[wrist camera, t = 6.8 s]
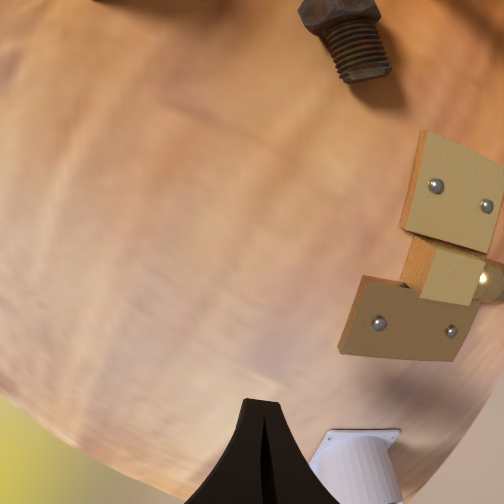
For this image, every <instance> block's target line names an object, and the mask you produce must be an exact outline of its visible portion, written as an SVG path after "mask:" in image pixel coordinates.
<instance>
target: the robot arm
mask: <svg viewBox="0 0 504 504" xmlns="http://www.w3.org/2000/svg"><path fill="white" fill-rule="evenodd" d="M399 434H400V431H399V430H397V429H395V430H330V431H328V432H327V434H326V436H325V437H324V439H323V441H322V443H321V444H320V446H319V448H318V449H317V451H316V453H315V454H314V456H313V458H312V459H311V461H310V462H309V464H308V463H307V461H306V460H305V458H304V456H303V455H302V453H301V451H300V449H299V447H298V445H297V443H296V442H295V440H294V438H293V436H292V433H291V431H290V429H289V427H288V425H287V422H286V420H285V417H284V415H283V412H282V409H281V406H280V404H279V403H278V402H271V401H263V400H256V399H249V398H246V399H244V400H243V403H242V406H241V410H240V414H239V418H238V421H237V425H236V429H235V431H234V434H233V436H232V438H231V440H230V442H229V444H228V446H227V447H226V449H225V451H224V453H223V455H222V456H221V458H220V459H219V461H218V463H217V464H216V466H215V467H214V468H213V470H212V471H211V473H210V474H209V475H208V477H207V478H206V479H205V481H204V482H203V483H202V484H201V486H200V487H199V488H198V489H197V490H196V492H195V493H194V494H193V495H192V496H191V497H190V498H189V499H188V500H187V501H186V502H185V503H184V504H405V502H404V500H403V497H402V494H401V490H400V487H399V484H398V481H397V478H396V475H395V472H394V469H393V466H392V463H391V460H390V457H389V454H388V451H387V450H388V449H389V448H390V446H391V445H392V444H393V442H394V441H395V440H396V438H397V437H398V436H399Z"/></svg>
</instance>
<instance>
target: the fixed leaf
mask: <svg viewBox="0 0 504 504" xmlns="http://www.w3.org/2000/svg"><path fill="white" fill-rule="evenodd" d="M474 256H476V255H474ZM476 257H478V258H479V259H481V260H482V261H484V262H486V263H485V266H484V269H483V272H482V275H481V277H480V280H479V283H478V285H477V288H476V290H475V293H474V295H473V298H472V300H471V303H470V305H469V306H466V305H460V304H454V303H448V302H442V301H436V300H430V299H424V298H419V297H418V296H417V295H416V294H415V293H414V292H413V291H412V289H411V288H410V287H409V286H408V285H407V284H406V283H401V282H396V281H391V280H386V279H380V278H375V277H370V276H365V275H363V276H362V279H361V282H360V286H359V289H358V291H357V294H356V297H355V300H354V303H353V306H352V309H351V312H350V314H349V317H348V320H347V323H346V325H345V328H344V331H343V333H342V336H341V339H340V341H339V344H338V349H339V352H340V354H345V355H355V356H365V357H376V358H389V359H403V360H420V361H443V362H453V360H454V359H455V357H456V355H457V353H458V351H459V349H460V347H461V345H462V343H463V341H464V339H465V337H466V335H467V333H468V331H469V329H470V327H471V325H472V322H473V320H474V318H475V316H476V314H477V311H478V309H479V307H480V304H481V302H486V303H492V304H502V303H504V264H503V263H500V262H496V261H493V260H490V259H486V258H483V257H480V256H476Z"/></svg>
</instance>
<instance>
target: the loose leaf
mask: <svg viewBox="0 0 504 504" xmlns="http://www.w3.org/2000/svg"><path fill="white" fill-rule="evenodd" d="M503 193H504V167H503V166H501V165H499V164H498V163H496V162H494V161H492V160H490V159H488V158H486V157H484V156H482V155H481V154H479V153H477V152H475V151H473V150H471V149H469V148H466V147H464V146H462V145H460V144H458V143H456V142H454V141H452V140H449V139H447V138H445V137H443V136H440V135H438V134H436V133H433V132H431V131H429V130H422V131H421V134H420V139H419V145H418V150H417V155H416V160H415V164H414V169H413V174H412V178H411V182H410V187H409V191H408V195H407V199H406V203H405V207H404V211H403V214H402V218H401V222H400V225H399V227H401V228H403V229H404V230H407V231H411V232H415V233H418V234H422V235H426V236H429V237H433V238H436V239H440V240H443V241H447V242H450V243H454V244H457V245H461V246H464V247H467V248H471V249H474V250H477V251H480V252H484V253H487V252H488V249H489V246H490V242H491V239H492V236H493V232H494V229H495V225H496V221H497V218H498V214H499V210H500V206H501V201H502V197H503ZM485 263H486V262H484V261H482V260H481V259H479V258H478V257H476V256H474V255H473V254H471V253H469V252H467V251H466V250H464V249H462V248H459V247H456V246H452V245H449V244H445V243H441V242H438V241H434V240H431V239H427V238H423V237H420V236H416V235H415V236H414V240H413V243H412V246H411V250H410V253H409V256H408V259H407V262H406V265H405V268H404V271H403V274H402V277H401V279H402V280H403V281H404V282H405V283H406V284H407V285H408V286H409V287H410V288H411V289H412V291H413V292H414V293H415V294H416V295H417V296H418V297H419V298H424V299H430V300H436V301H442V302H448V303H454V304H460V305H466V306H469V305H470V303H471V300H472V298H473V295H474V293H475V290H476V288H477V285H478V283H479V280H480V277H481V275H482V272H483V269H484V266H485Z"/></svg>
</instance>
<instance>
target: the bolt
mask: <svg viewBox="0 0 504 504" xmlns="http://www.w3.org/2000/svg"><path fill="white" fill-rule="evenodd" d="M298 13H299V15H300V17H301V20H302V22H303V24H304V26H305V27H306V28H307V29H308V30H309V32H311V33H312V34H313V35H316V36H321V37H324V38H325V39H326V40H325V41H326V43H328V46H327V47H328V48H330V50H329V52H330V53H332V55H331V57H332V58H334V61H333V62H334V63H336V68H337V69H338V71H337V73H339V74H341V75H340V76H339V78H341V79H343V82H345V83H346V84H351V83H355V82H360V81H365V80H370V79H374V78H379V77H385V76H388V75H389V73H390V71H391V70H392V68H391V67H389V64H390V62H388V61H387V59H388V57H386V56H384V55H385V54H386V52H385V51H383V49H384V48H385V47H383V46H382V45H381V44H382V41H380V40H379V39H380V36H378V35H377V34H378V31H376V30H375V29H376V26H374V25H373V24H375V23H376V22H378V21H379V20H380V18H381V14H380V12H379V10H378V8H377V6H376V4H375V1H374V0H304V1H303V2H302V4H301V6H300V7H299V9H298Z"/></svg>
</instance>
